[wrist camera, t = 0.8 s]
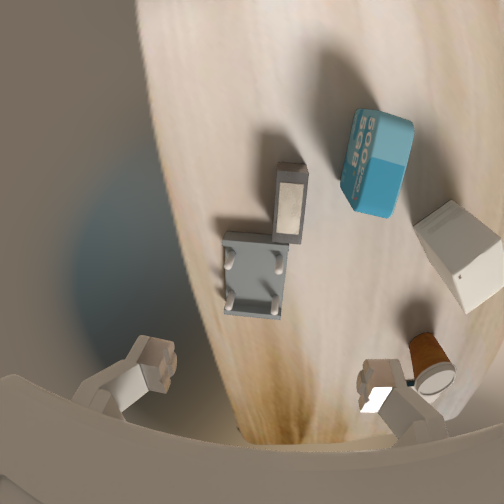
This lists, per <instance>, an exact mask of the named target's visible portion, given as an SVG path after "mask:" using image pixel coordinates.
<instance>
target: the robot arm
mask: <svg viewBox="0 0 504 504" xmlns="http://www.w3.org/2000/svg"><path fill="white" fill-rule="evenodd" d="M174 348H175V347H174V343H173V342H172V341H167V340H162V339H158V338H153V337H148V336H143V335H140V336H139V337H138V339H137V340H136V342H135V344H134V345H133V347H132V349H131V351H130V353H129V354H128V356H127V358H126V359H125V360H121V361H119V362H117V363H115V364H114V365H112V366H110V367H108V368H106V369H104V370H103V371H101V372H99V373H97V374H95V375H93V376H92V377H90V378H88V379H86V380H84V381H83V382H82V383H81V385H80V386H79V388H78V390H77V391H76V393H75V395H74V396H73V398H72V400H71V401H69V400H67V399H65V398H62V397H60V396H58V395H56V394H54V393H52V392H49V391H47V390H45V389H43V388H41V387H39V386H37V385H35V384H33V383H32V382H30V381H28V380H26V379H24V378H22V377H21V376H19V375H15V374H12V375H8V376H5V377H3V378H0V504H504V423H501V424H497V425H494V426H491V427H488V428H485V429H481V430H478V431H474V432H471V433H467V434H464V435H460V436H455V437H451V438H449V436H448V432H447V429H446V425H445V422H444V418H443V416H442V415H441V414H440V413H439V412H438V411H437V410H435V409H434V408H433V407H432V406H431V405H430V404H429V403H428V402H427V401H426V400H424V399H423V398H422V397H421V396H420V395H419V394H418V393H417V392H416V391H414V390H413V389H412V388H411V387H407V384H406V380H405V377H404V374H403V371H402V368H401V364H400V361H399V360H398V359H366V360H365V361H364V363H363V370H362V371H360V372H359V374H358V377H357V392H358V393H359V394H360V395H361V396H360V398H359V400H358V401H359V407H360V412H378V414H379V415H380V416H381V418H382V419H383V420H384V421H385V423H386V424H387V425H388V427H389V428H390V429H391V430H392V432H393V433H394V434H395V435H396V437H397V438H398V439H399V440H398V441H397V442H396V443H395V444H394V445H393V446H392V448H387V449H376V450H365V451H347V452H295V451H294V452H293V451H277V450H264V449H254V448H245V447H236V446H229V445H222V444H216V443H211V442H205V441H199V440H194V439H189V438H185V437H180V436H176V435H171V434H167V433H163V432H160V431H155V430H152V429H148V428H145V427H141V426H138V425H135V424H131V423H128V422H126V420H125V418H124V417H123V415H122V413H121V412H122V411H123V410H125V409H126V408H127V407H129V406H130V405H131V404H132V403H134V402H135V401H136V400H137V399H139V398H140V397H141V396H143V395H144V394H145V393H146V392H148V390H151V391H156V392H161V393H167V391H168V388H169V386H170V383H171V381H170V377H171V376H172V375H173V374H174V373H175V370H176V365H177V357H176V354H175V353H174V352H173V351H174Z"/></svg>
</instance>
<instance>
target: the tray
mask: <svg viewBox="0 0 504 504" xmlns="http://www.w3.org/2000/svg"><path fill="white" fill-rule="evenodd" d="M222 246H225V264H224V268H225V283H226V304H225V307H224V314H226V315H235V316H244V317H254V318H264V319H274V320H280V319H281V307H282V299H283V291H284V282H285V274H286V265H287V256H288V251H289V243H279V242H272V235H266V234H254V233H242V232H229V231H226V233H225V236H224V238H223V240H222Z"/></svg>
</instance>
